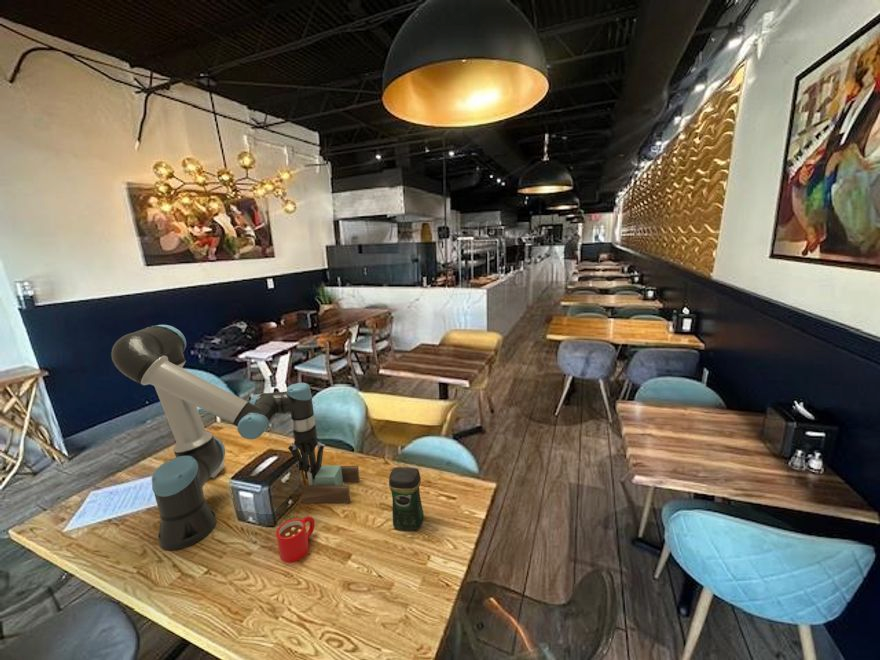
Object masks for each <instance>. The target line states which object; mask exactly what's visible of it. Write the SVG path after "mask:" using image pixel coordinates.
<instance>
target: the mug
mask: <svg viewBox="0 0 880 660" xmlns="http://www.w3.org/2000/svg"><path fill="white" fill-rule="evenodd" d="M307 522H309V527H308V531H307V528H306V527H307V526H306V523H307ZM314 530H315V519H314V518H313V516H310V515H309V516H305V517H304V518H292V519H289V520H286V521H285V522H283V523H282V524H280V525H279V526H278V528H277V529H276V532H275V535H276V540H277V546H278V552H279V557H280V560H281V561H282V562H284V563H290V564H291V563H294V562H298V561H299V560H301V559H302V558H304V557H305V556H306V554H308V552H309V548H310V546H309V541H308V540H309V539H310V538H311V536H312V535H313V532H314Z"/></svg>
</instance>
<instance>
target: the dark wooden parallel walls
mask: <svg viewBox="0 0 880 660" xmlns="http://www.w3.org/2000/svg"><path fill="white" fill-rule="evenodd" d="M321 467H322V465H321ZM321 467H320V468H321ZM319 470H320V469H319ZM319 470H318V471H319ZM341 470H342V478H343V483H360V470H359V465H341ZM318 471H317V473H318ZM301 493H302V498H301V500H300V504H346V505H347V504H350V503H351V497H350V496H351V494H350V487H349V485H344V484H343V485H309V484H308V485H302V487H301Z"/></svg>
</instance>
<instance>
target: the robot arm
mask: <svg viewBox="0 0 880 660" xmlns="http://www.w3.org/2000/svg"><path fill="white" fill-rule="evenodd" d="M186 348H187V340H186V337H185V336H184V334H183V333H182V332H181V331H180V330H179V329H177V328H176V327H175V326H172V325H168V324H158V325H151V326H148V327H145V328H143V329H140V330H137V331H134V332H130V333H127V334H125V335H123V336H121V337H120V338H119V339H118V340H116V342H115V343H114V345H113V346H112V348H111V360H112V363H113V364H114V366H115V367H116V369H117V370H118V371H119V372H121V374H122V375H124V376H125V377H127V378H129V379H130V380H132V381H134V382H136V383H138V384H140V385H142V386H147V385H151V386H154V388H155V391H156V394H157V396H158V399H159V401H160V404H161V407H162V409H163V412H164V414H165V416H166V419H167V423H168V424H169V427H170V429H171V433H172V435H173V437H174V439H175V442H176V443H175V445H174V447H173V449H172V450H173V452H174V455H175V457H173V458H171V459H169V460H168V461H165V462H163V463H162V464H160V465H159V466H158V467H157V468H156V469H155V470H154V472H153V473H152V476H151V487H152V491H153V493H154V498H155V500H156V505H157V510H158V513H159V517H160V524H159V530H158V531H159V532H158V535H157V537H158V538H157V539H158V543H159V546H160V548H161V549H163V550H165V551H176V550H181V549H184V548H189V547H190V546H192V545H195V544H196V543H198V542H199V541H202V540H203V539H204V538H206V536H208V535H209V534H210V533H211V532H212V531H213V530H214V528H215V526H216V524H217V518H216V514H215V512H214V511H213V510H212V509H211V508H210V506H209V505H208V503H207V502H206V500H205V494H204V490H203V487H204V486H205V484H206V483H207V482H208V481H209V479H210V478H212V477H211V476H212V474H213V473H214V472H215V471H216V470H217V469H218V468H219V466H220V465H221V463H222V461H224V459H225V456H226V447H225V445H224V443H223V442H222V441H221V440H220V439H217V437H215V436H214V435H213V433H212V432H209V431H206V429H205V426H204V423H203V420H202V417H201V414H200V412H199V410H198V408H199V409H200V410H203V411H205V412H206V413H208V414H211V415H212V416H215V417H218V418H220V419H221V420H223V421H225V422H227V423H230V424H231V425H234V426H235V427H236V429H237V432H238V434H239V435H240V437H242V438H243V439H246V440H256V439H258V438H260V437H261V436H262V435H263V434H264V433H265V432H266V431H267V430H268V428H269V427H270V425H271V423H272V421H273V420H274V419H275V417H276V416H278V415H286V414H290V419H291V428H292V434H293V439H294V440H293V441H294V442H292V443H291V444H290V445H289V447H288V450H289V452H290V453H291V454H292V457H293V456H296V457H297V456H298V455H299V459H298V461H299V469H298V470H299V471H303V472H304V475H305V477H304V478H305V479H306V480H307V483H308V485H316V482H315V476H316V474H317V471H318V470H319V469H320V467H321V466H322V465H323V463H322V462H323V456H324V449H325V446H326V445H327V444H326V442H323V443H322V442H320V440H319V439H318V433H317V427H316V426H317V425H316V419H315V418H316V417H315V412H314V405H313V404H314V403H313V394H312V392H311V387H310V385H309V384H308V383H306V382H296V383H293V384H290V385H289V386H287V388H286V391H278V392H262V393H257V394H254V395H252V396H251V397H250V400H249V401H247V400H245V399H244V398H241V397H239V396H238V395H235V394H233V393H231V392H229V391H227V390H225V389H224V388H222V387H219V386H218V385H216V384H214V383H212V382H210V381H208V380H206V379H204V378H202V377H201V376H198V375H196V374H194V373H192V372H190V371H189V370H186V369H184V368H183V367H184V365H185V363H187V360H186V358H185V355H184V352H185V350H186ZM316 447H317V454H316Z"/></svg>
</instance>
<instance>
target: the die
mask: <svg viewBox="0 0 880 660" xmlns="http://www.w3.org/2000/svg"><path fill="white" fill-rule="evenodd" d="M225 467H226V466H225V461H224V460H223V461H222V463H221V465H220V466H219V468H218V469H217V470H216V471H215V472H214V473H213V474H212V476H211V477H210V478H212V479H215V477H217V475H218V474H219V473H220V472H221V471H222V470H223V469H224V468H225Z"/></svg>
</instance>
